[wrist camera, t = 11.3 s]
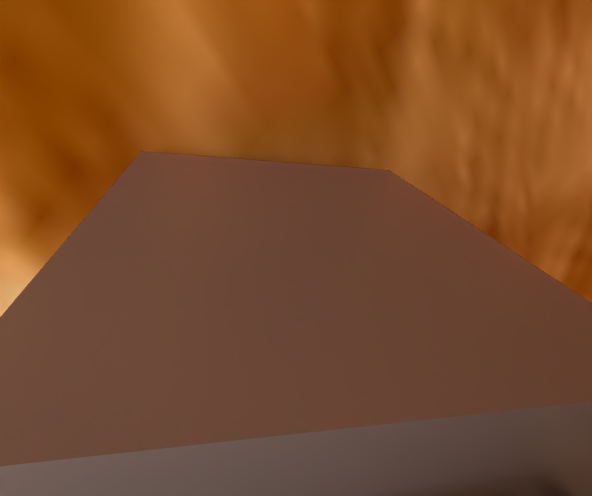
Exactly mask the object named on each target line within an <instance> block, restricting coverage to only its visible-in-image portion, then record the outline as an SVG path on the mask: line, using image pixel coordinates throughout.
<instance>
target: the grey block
mask: <svg viewBox="0 0 592 496" xmlns="http://www.w3.org/2000/svg"><path fill="white" fill-rule="evenodd" d="M0 496H592V303H591V302H590V301H588V300H586V299H585V298H583V297H582V296H580V295H579V294H577V293H576V292H574V291H573V290H571V289H570V288H568V287H567V286H565V285H564V284H562V283H560V282H559V281H557V280H556V279H554V278H553V277H551V276H550V275H548V274H547V273H545V272H544V271H542V270H541V269H539V268H538V267H536V266H535V265H533V264H531V263H530V262H528V261H527V260H525V259H524V258H522V257H521V256H519V255H518V254H516V253H515V252H513V251H512V250H510V249H509V248H507V247H505V246H504V245H502V244H501V243H499V242H498V241H496V240H495V239H493V238H492V237H490V236H489V235H487V234H486V233H484V232H483V231H481V230H480V229H478V228H476V227H475V226H473V225H472V224H470V223H469V222H467V221H466V220H464V219H463V218H461V217H460V216H458V215H457V214H455V213H454V212H452V211H450V210H449V209H447V208H446V207H444V206H443V205H441V204H440V203H438V202H437V201H435V200H434V199H432V198H431V197H429V196H428V195H426V194H425V193H423V192H421V191H420V190H418V189H417V188H415V187H414V186H412V185H411V184H409V183H408V182H406V181H405V180H403V179H402V178H400V177H399V176H397V175H395V174H394V173H392V172H391V171H389V170H379V169H366V168H353V167H340V166H327V165H314V164H300V163H287V162H274V161H261V160H248V159H235V158H222V157H209V156H196V155H182V154H169V153H156V152H143V151H141V152H140V154H139V155H138V156H137V157H136V158H135V159H134V161H133V162H132V163H131V164H130V165H129V167H128V168H127V169H126V170H125V171H124V172H123V174H122V175H121V176H120V177H119V178H118V179H117V181H116V182H115V183H114V184H113V185H112V187H111V188H110V189H109V190H108V191H107V192H106V194H105V195H104V196H103V197H102V198H101V199H100V201H99V202H98V203H97V204H96V205H95V207H94V208H93V209H92V210H91V211H90V212H89V214H88V215H87V216H86V217H85V218H84V219H83V221H82V222H81V223H80V224H79V225H78V227H77V228H76V229H75V230H74V231H73V232H72V234H71V235H70V236H69V237H68V238H67V239H66V241H65V242H64V243H63V244H62V245H61V247H60V248H59V249H58V250H57V251H56V252H55V254H54V255H53V256H52V257H51V258H50V259H49V261H48V262H47V263H46V264H45V265H44V267H43V268H42V269H41V270H40V271H39V272H38V274H37V275H36V276H35V277H34V278H33V279H32V281H31V282H30V283H29V284H28V285H27V287H26V288H25V289H24V290H23V291H22V292H21V294H20V295H19V296H18V297H17V298H16V299H15V301H14V302H13V303H12V304H11V305H10V307H9V308H8V309H7V310H6V311H5V312H4V314H3V315H2V316H1V317H0Z"/></svg>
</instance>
